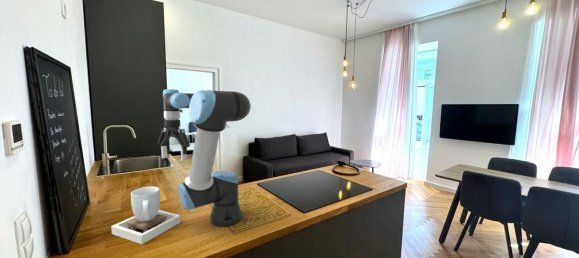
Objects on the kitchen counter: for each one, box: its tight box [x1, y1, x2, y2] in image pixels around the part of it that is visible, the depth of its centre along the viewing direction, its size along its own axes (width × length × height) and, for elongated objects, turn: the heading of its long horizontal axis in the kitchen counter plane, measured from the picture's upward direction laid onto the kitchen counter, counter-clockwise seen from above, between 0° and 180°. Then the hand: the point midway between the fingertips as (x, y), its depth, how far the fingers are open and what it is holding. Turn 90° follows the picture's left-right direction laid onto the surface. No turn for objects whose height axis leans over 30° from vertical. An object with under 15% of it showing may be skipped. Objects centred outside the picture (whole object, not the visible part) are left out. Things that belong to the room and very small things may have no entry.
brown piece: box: [127, 214, 167, 233], centre depth 105 cm, size 11×11×4 cm
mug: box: [130, 186, 161, 222], centre depth 104 cm, size 15×11×13 cm
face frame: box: [110, 209, 182, 245], centre depth 105 cm, size 19×19×4 cm
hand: (174, 159), depth 125 cm, fingers open, 13 cm apart
